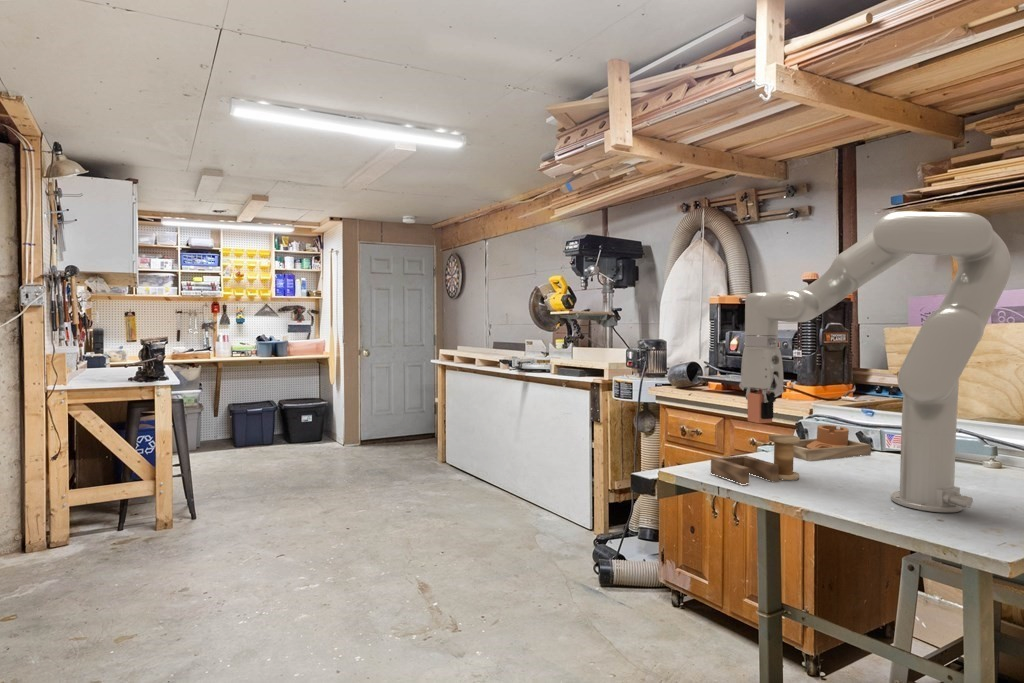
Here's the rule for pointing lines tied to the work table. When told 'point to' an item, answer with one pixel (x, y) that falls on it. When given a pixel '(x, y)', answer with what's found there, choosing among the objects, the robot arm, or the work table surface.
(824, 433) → the bracket
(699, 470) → the work table surface
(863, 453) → the frame
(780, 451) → the spool
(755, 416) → the tab
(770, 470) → the notched board
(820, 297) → the robot arm
